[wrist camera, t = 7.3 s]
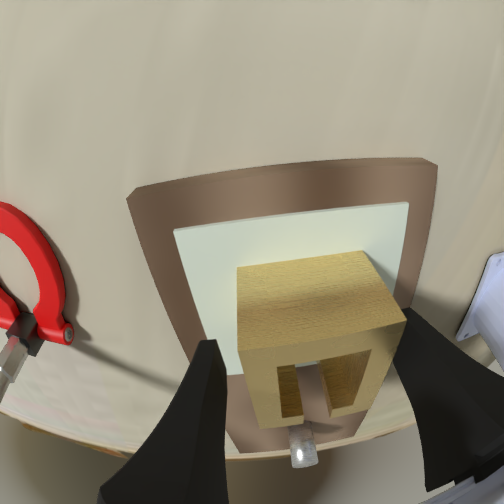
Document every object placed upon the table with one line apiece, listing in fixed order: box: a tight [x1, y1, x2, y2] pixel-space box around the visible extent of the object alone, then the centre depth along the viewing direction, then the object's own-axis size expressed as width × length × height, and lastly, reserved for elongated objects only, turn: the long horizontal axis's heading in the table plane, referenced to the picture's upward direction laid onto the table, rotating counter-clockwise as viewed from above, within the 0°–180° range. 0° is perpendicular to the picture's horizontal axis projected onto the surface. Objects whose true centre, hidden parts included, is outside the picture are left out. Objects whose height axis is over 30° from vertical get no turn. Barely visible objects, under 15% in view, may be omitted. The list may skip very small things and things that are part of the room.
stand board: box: [126, 158, 438, 453], centre depth 17 cm, size 12×27×1 cm, turn 7°
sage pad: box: [173, 202, 409, 375], centre depth 12 cm, size 9×9×1 cm
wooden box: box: [237, 250, 407, 429], centre depth 10 cm, size 5×6×4 cm
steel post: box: [287, 420, 318, 468], centre depth 18 cm, size 2×2×4 cm
